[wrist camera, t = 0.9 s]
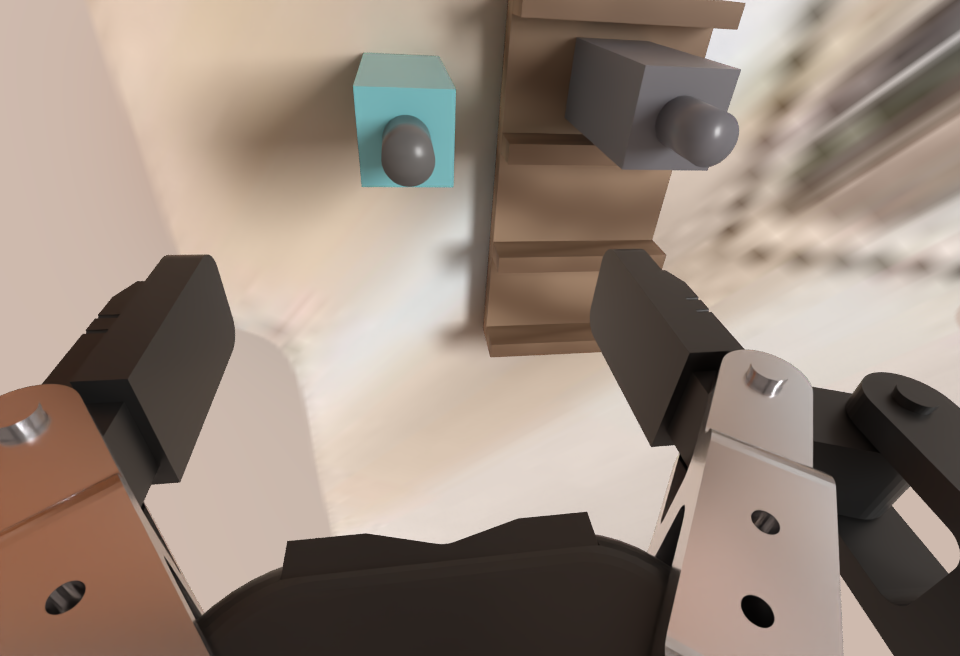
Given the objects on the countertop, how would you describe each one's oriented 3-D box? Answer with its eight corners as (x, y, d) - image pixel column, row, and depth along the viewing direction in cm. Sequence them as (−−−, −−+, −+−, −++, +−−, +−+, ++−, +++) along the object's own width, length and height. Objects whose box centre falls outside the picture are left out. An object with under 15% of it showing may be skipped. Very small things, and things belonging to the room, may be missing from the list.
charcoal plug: (576, 37, 23) (678, 78, 15) (647, 40, 24) (783, 82, 16) (564, 117, 25) (647, 192, 17) (630, 119, 26) (741, 192, 18)
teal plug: (363, 52, 23) (348, 101, 15) (439, 56, 24) (463, 104, 16) (369, 131, 26) (358, 211, 17) (438, 132, 26) (459, 211, 18)
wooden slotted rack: (509, -15, 23) (523, -12, 20) (708, -2, 24) (745, 3, 22) (483, 327, 34) (490, 357, 32) (619, 322, 36) (636, 350, 33)
